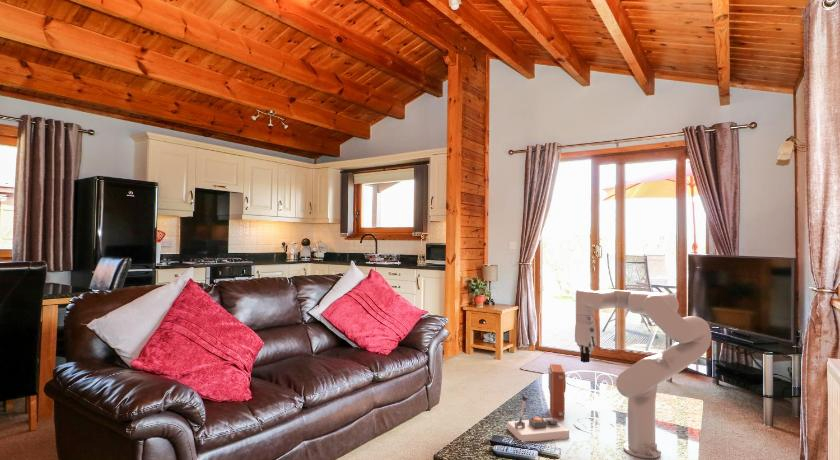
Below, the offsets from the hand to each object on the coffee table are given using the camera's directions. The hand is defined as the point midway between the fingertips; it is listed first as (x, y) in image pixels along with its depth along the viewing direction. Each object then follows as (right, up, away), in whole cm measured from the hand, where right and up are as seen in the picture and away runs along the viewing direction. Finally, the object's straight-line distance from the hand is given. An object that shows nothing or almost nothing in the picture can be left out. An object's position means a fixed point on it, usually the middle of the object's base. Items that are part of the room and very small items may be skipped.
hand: (585, 361), depth 197 cm
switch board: (-21, -29, -4) cm, 36 cm away
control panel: (-7, -30, +18) cm, 36 cm away
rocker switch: (-15, -25, -2) cm, 29 cm away
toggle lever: (-29, -24, -5) cm, 38 cm away
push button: (-21, -25, -3) cm, 33 cm away
